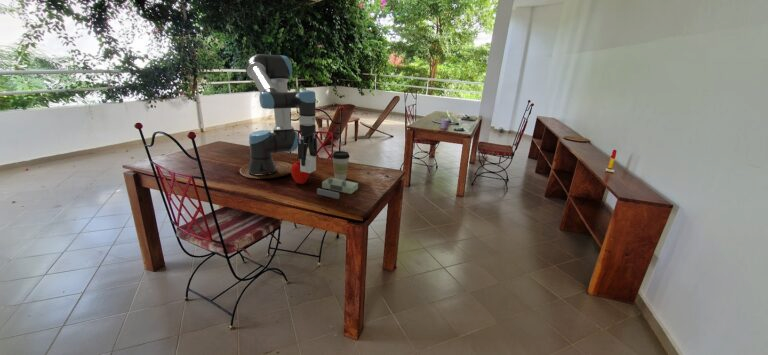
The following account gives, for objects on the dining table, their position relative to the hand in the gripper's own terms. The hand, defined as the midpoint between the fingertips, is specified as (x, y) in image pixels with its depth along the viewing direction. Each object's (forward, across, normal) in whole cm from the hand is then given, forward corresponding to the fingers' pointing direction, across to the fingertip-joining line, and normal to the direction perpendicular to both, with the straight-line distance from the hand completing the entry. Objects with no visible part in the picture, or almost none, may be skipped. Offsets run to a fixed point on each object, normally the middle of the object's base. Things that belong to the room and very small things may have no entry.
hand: (308, 169), depth 165 cm
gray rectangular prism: (0, 0, 0) cm, 0 cm away
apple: (+12, +7, +9) cm, 16 cm away
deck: (+11, +6, -13) cm, 18 cm away
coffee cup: (+12, +24, -6) cm, 27 cm away
